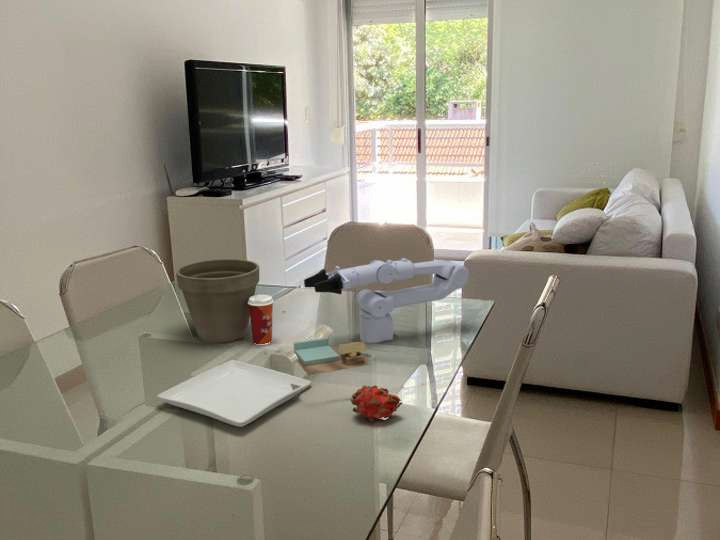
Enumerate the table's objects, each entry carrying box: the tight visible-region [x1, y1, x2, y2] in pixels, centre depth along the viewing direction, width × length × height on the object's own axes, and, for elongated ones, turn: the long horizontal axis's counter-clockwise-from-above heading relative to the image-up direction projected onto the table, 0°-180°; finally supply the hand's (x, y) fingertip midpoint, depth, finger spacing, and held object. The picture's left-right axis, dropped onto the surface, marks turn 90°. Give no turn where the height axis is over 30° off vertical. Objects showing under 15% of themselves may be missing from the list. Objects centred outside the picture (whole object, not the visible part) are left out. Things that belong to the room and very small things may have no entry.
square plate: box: [156, 359, 313, 428], centre depth 172 cm, size 27×27×4 cm
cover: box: [293, 336, 340, 365], centre depth 194 cm, size 10×10×3 cm
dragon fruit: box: [350, 385, 403, 422], centre depth 162 cm, size 8×8×12 cm
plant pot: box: [175, 258, 260, 344], centre depth 214 cm, size 25×25×22 cm
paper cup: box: [248, 294, 275, 344], centre depth 209 cm, size 8×8×14 cm
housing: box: [296, 345, 372, 376], centre depth 193 cm, size 18×16×4 cm
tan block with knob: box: [338, 340, 367, 357], centre depth 191 cm, size 7×2×5 cm, turn 112°
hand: (309, 285), depth 195 cm, fingers open, 7 cm apart
